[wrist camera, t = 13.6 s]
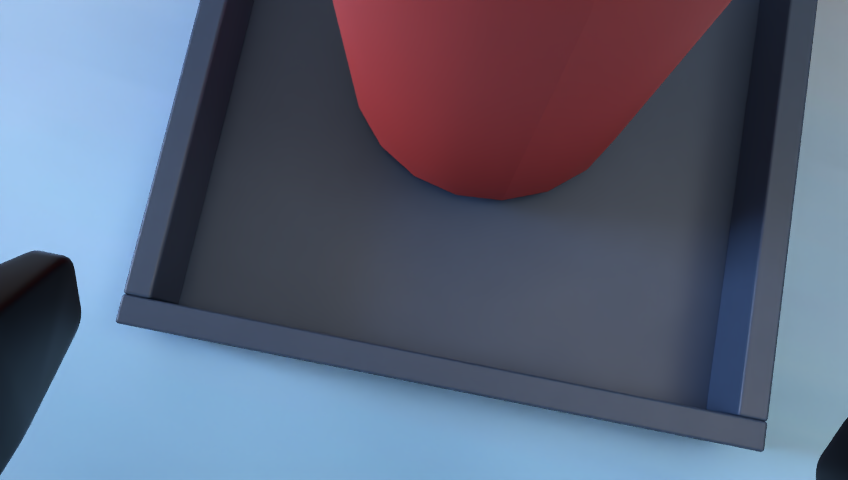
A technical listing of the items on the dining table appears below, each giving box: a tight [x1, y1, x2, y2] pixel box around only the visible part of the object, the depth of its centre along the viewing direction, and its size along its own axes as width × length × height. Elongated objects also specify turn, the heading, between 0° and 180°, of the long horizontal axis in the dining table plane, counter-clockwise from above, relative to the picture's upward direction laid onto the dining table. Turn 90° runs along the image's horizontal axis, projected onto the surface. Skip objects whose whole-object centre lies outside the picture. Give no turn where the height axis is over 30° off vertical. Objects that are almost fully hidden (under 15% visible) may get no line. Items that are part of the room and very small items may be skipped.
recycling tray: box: [116, 0, 818, 452], centre depth 17 cm, size 15×13×2 cm
